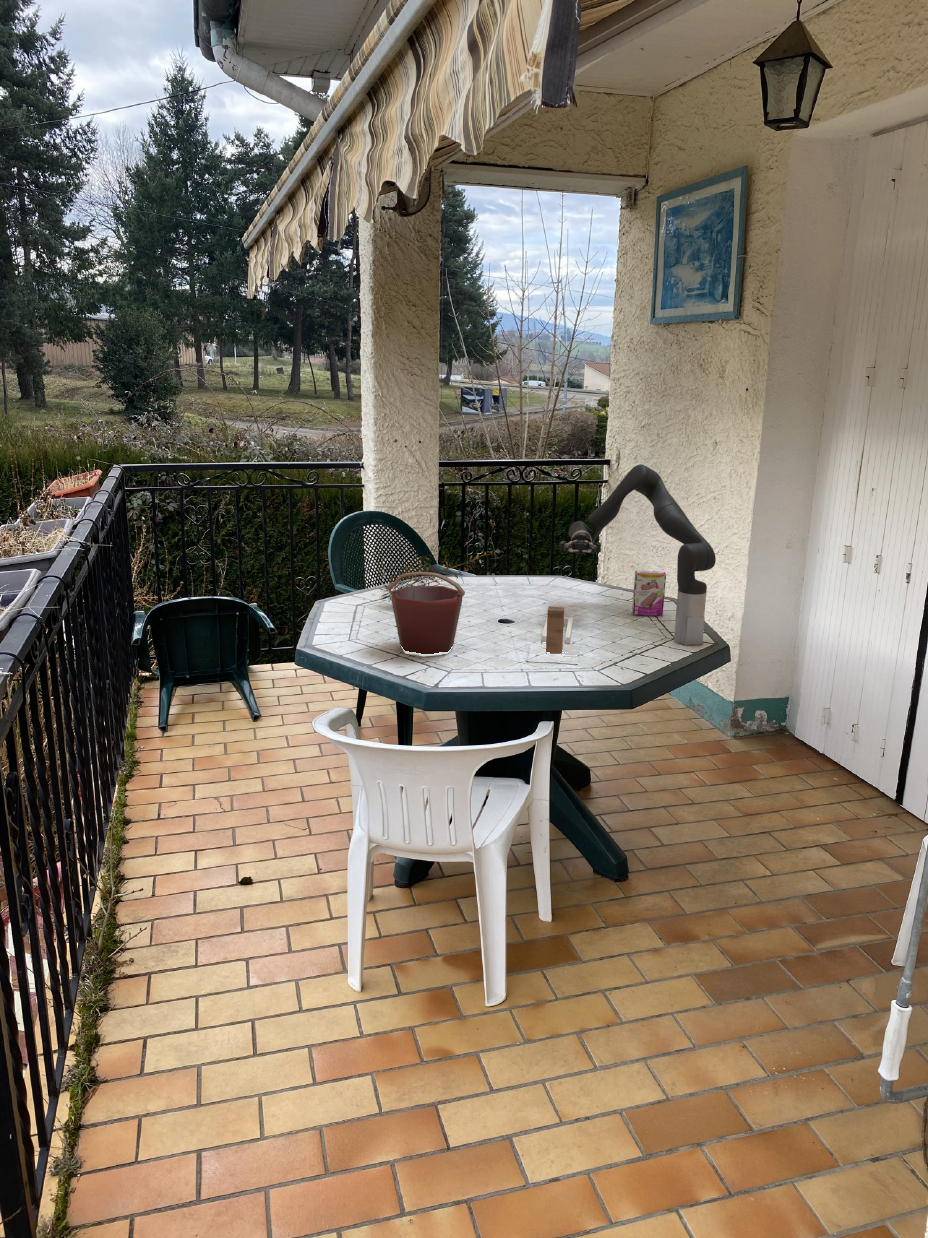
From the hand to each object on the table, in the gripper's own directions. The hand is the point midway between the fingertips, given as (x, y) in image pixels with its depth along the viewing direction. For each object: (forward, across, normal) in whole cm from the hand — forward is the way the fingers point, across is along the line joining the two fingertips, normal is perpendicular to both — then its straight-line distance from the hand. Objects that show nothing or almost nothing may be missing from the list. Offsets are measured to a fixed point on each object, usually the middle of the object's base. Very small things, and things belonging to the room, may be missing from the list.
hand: (579, 550), depth 306 cm
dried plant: (-17, -54, +28) cm, 63 cm away
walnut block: (+29, -6, +28) cm, 40 cm away
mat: (+31, -6, +28) cm, 42 cm away
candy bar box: (-25, +26, +28) cm, 46 cm away
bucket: (+33, -47, +28) cm, 64 cm away
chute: (+8, -6, +28) cm, 30 cm away
